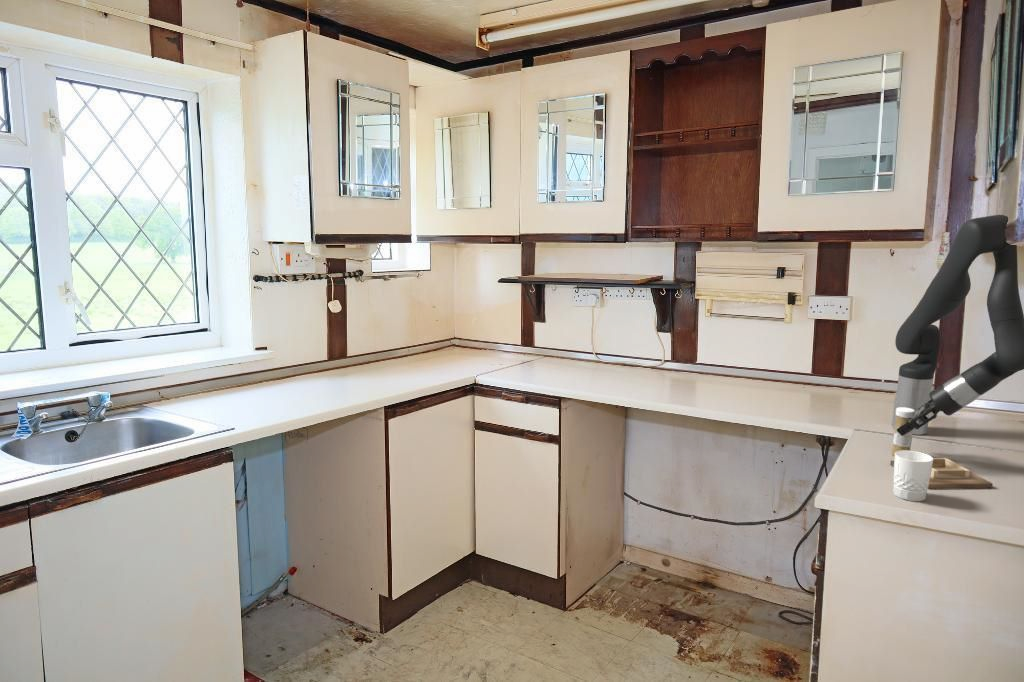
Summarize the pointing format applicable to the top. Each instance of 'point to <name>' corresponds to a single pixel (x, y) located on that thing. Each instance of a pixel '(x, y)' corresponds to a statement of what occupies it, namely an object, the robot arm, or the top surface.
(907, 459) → the white cup
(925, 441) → the top surface
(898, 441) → the sprinkles bottle
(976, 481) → the holder board
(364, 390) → the top surface
